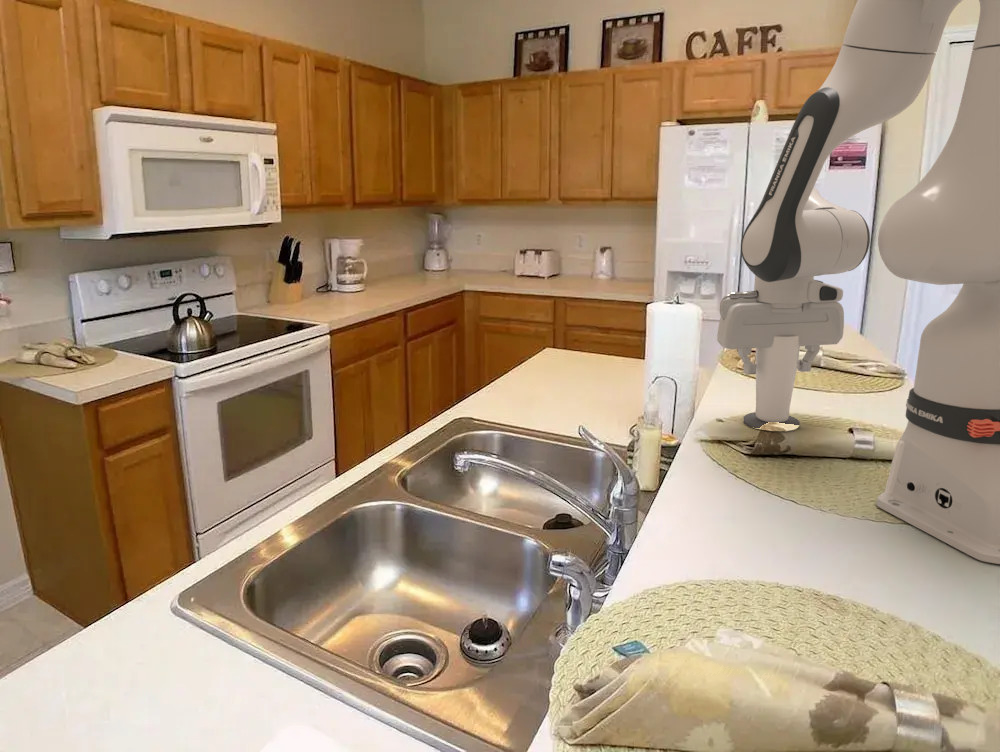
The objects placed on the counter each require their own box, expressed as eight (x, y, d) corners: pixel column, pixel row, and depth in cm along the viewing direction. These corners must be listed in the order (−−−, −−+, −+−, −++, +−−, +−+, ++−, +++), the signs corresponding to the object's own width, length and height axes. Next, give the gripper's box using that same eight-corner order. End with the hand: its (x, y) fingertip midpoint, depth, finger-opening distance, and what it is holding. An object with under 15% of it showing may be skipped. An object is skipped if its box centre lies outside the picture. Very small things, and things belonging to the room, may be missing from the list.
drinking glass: (796, 426, 114) (804, 337, 110) (753, 424, 115) (759, 336, 112) (789, 414, 120) (797, 330, 116) (748, 412, 122) (754, 329, 118)
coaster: (810, 430, 114) (810, 427, 114) (757, 433, 113) (757, 430, 113) (783, 413, 122) (783, 410, 122) (734, 416, 122) (734, 413, 121)
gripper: (729, 294, 108) (724, 380, 111) (853, 289, 109) (844, 373, 113) (713, 289, 114) (709, 370, 117) (831, 285, 115) (823, 365, 119)
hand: (776, 372), depth 115 cm, fingers open, 8 cm apart
